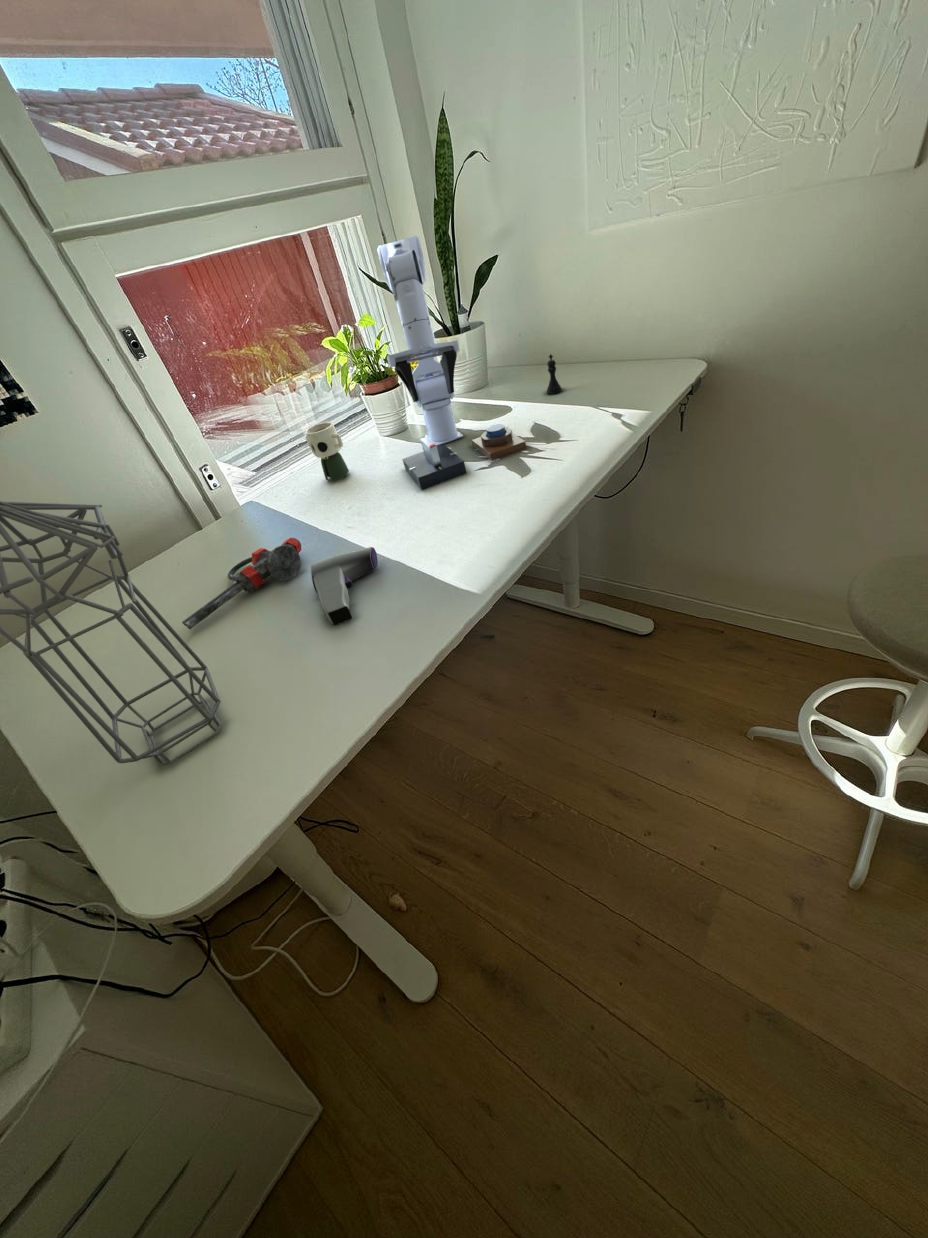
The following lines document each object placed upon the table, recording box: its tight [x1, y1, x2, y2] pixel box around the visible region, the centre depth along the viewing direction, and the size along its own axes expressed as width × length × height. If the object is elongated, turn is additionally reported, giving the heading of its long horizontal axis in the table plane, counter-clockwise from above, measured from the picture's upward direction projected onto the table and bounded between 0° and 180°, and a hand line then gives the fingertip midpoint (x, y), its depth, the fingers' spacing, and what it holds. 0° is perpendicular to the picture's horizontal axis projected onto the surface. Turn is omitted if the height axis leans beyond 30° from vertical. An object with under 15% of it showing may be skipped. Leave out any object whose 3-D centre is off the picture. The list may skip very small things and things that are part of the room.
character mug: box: [304, 421, 350, 482], centre depth 129 cm, size 11×7×13 cm, turn 64°
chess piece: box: [546, 354, 563, 395], centre depth 145 cm, size 4×4×10 cm
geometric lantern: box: [0, 501, 223, 767], centre depth 61 cm, size 16×16×35 cm
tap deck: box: [402, 443, 468, 491], centre depth 121 cm, size 14×12×3 cm
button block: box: [471, 426, 527, 462], centre depth 124 cm, size 12×9×4 cm
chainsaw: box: [181, 537, 303, 630], centre depth 98 cm, size 6×26×15 cm
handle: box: [419, 436, 441, 467], centre depth 118 cm, size 8×2×5 cm, turn 21°
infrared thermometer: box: [310, 546, 379, 626], centre depth 88 cm, size 5×12×15 cm
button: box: [485, 423, 506, 438], centre depth 123 cm, size 4×4×2 cm
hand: (434, 397), depth 107 cm, fingers open, 7 cm apart
